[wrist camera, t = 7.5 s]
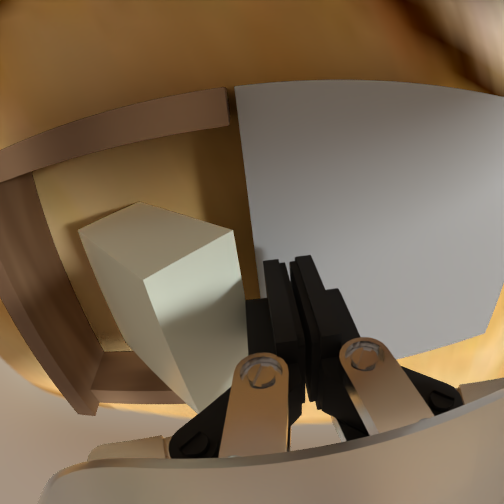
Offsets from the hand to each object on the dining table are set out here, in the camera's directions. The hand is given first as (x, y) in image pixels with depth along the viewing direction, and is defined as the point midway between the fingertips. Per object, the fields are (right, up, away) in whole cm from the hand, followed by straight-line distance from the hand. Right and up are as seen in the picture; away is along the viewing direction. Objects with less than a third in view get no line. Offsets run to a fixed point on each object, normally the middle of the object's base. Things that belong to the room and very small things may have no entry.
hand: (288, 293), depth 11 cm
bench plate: (+6, +3, +3) cm, 7 cm away
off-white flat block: (-4, 0, +1) cm, 4 cm away
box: (-7, +1, +3) cm, 7 cm away
